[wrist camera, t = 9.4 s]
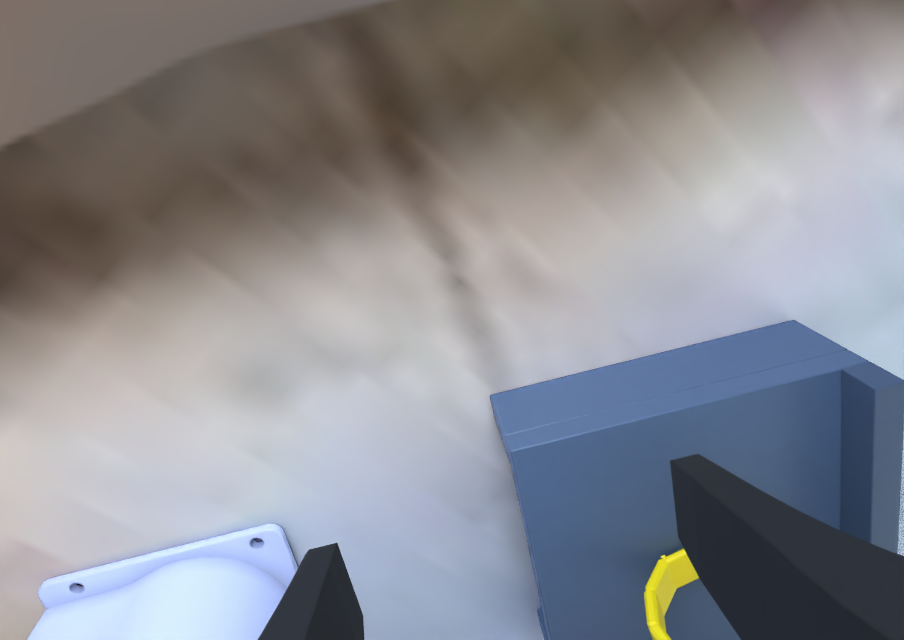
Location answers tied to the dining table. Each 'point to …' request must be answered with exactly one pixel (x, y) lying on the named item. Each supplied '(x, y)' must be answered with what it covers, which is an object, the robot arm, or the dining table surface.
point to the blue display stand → (683, 434)
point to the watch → (665, 589)
